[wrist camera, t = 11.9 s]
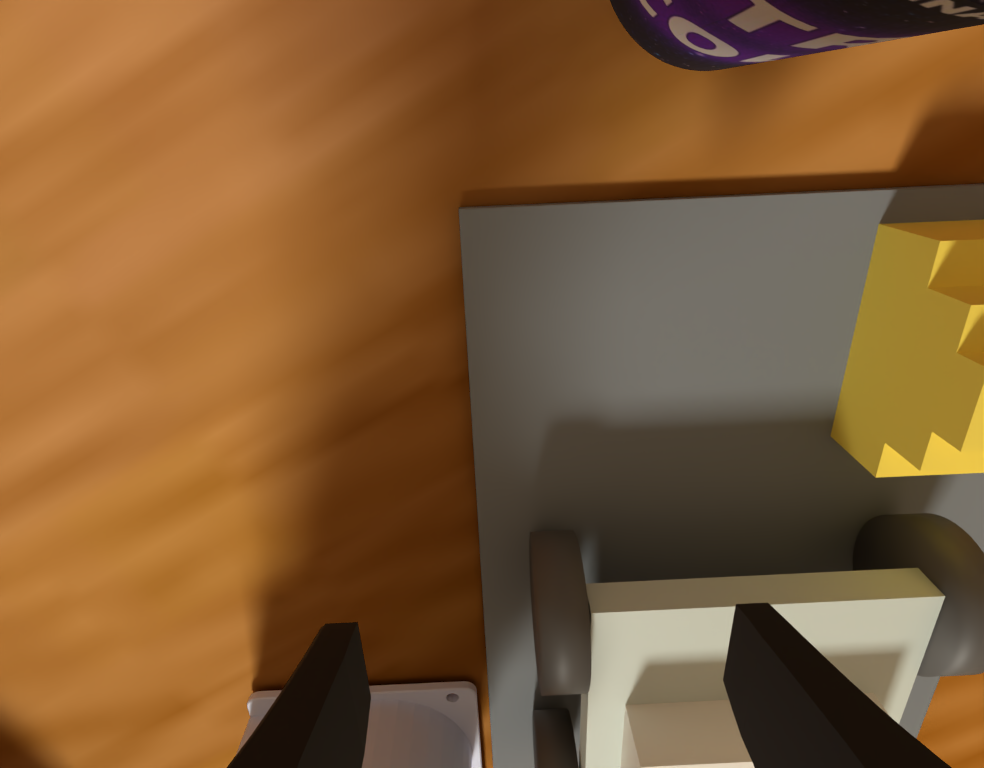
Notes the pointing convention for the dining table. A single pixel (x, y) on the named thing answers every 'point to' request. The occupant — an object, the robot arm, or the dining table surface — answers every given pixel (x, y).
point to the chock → (918, 354)
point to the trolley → (706, 634)
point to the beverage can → (780, 26)
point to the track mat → (674, 400)
